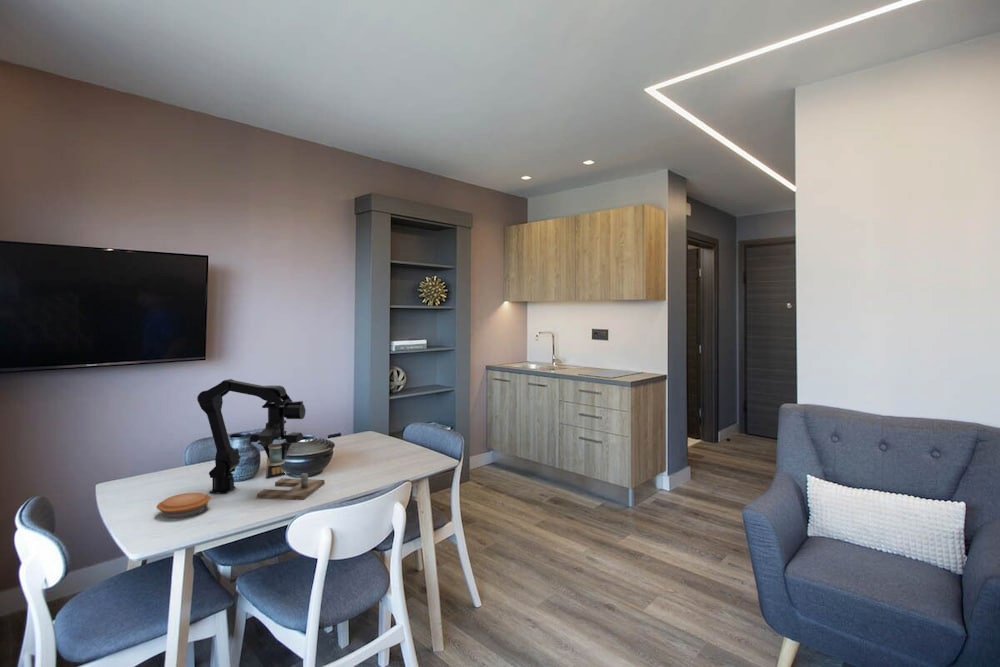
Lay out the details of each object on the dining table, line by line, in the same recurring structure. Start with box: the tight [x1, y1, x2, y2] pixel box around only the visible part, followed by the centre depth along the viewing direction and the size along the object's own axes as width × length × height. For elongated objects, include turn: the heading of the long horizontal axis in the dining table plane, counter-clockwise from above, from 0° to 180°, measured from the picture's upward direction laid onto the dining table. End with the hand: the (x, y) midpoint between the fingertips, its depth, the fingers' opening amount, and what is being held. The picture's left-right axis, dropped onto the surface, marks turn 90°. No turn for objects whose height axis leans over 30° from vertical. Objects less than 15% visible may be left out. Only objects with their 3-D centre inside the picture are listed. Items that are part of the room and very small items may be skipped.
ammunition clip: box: [265, 445, 292, 479], centre depth 207 cm, size 11×2×12 cm, turn 136°
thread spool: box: [268, 442, 285, 466], centre depth 187 cm, size 6×6×7 cm
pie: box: [156, 492, 212, 519], centre depth 167 cm, size 15×16×5 cm
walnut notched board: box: [255, 472, 326, 501], centre depth 189 cm, size 18×18×6 cm
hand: (276, 459), depth 188 cm, fingers closed on thread spool, 5 cm apart
